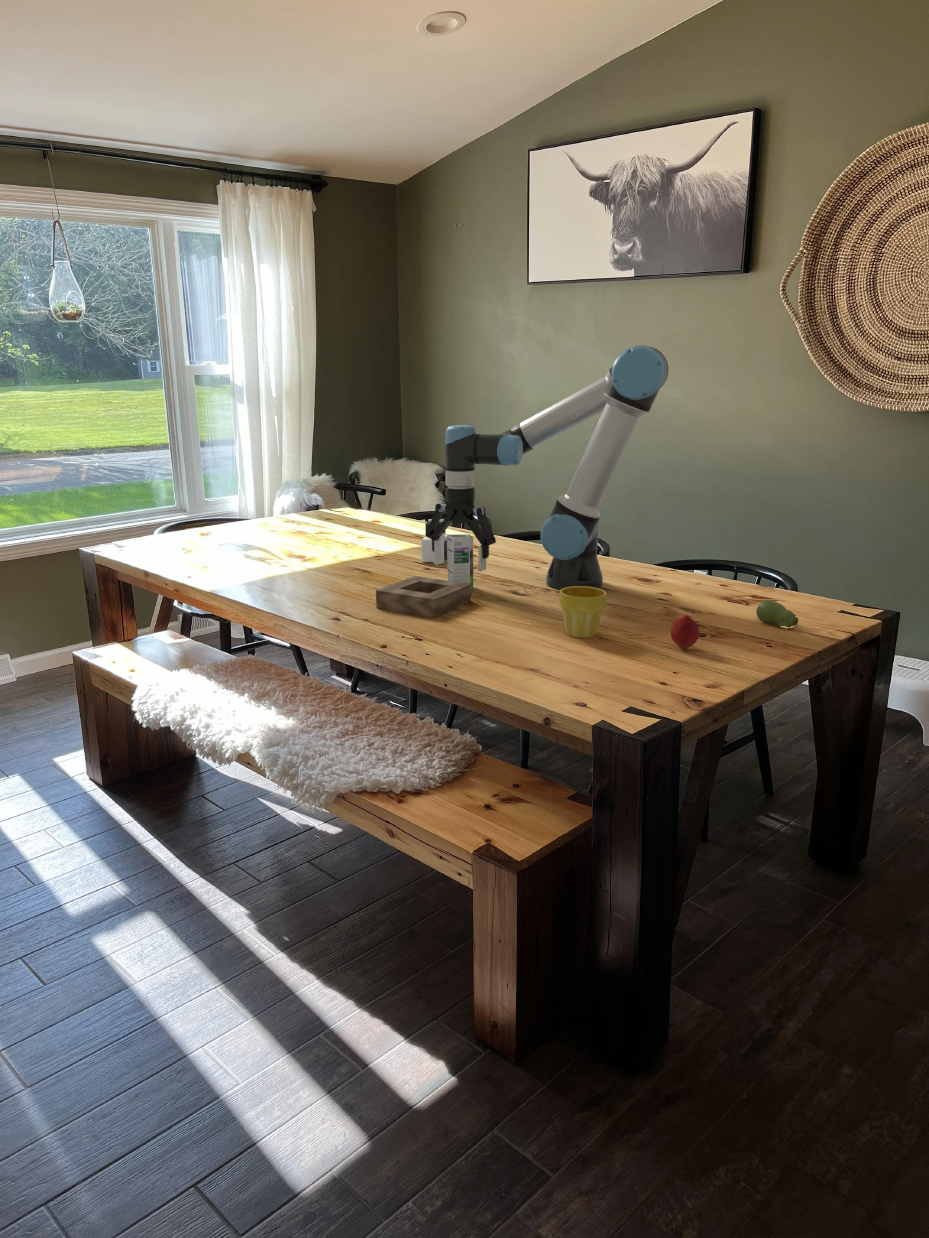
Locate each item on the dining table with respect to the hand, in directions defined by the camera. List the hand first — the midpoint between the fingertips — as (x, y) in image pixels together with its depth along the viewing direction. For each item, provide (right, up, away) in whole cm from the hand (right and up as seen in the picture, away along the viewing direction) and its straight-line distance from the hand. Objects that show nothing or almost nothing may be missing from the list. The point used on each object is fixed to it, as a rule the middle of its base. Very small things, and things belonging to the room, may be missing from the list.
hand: (459, 567), depth 236 cm
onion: (+48, -20, -47) cm, 70 cm away
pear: (+73, -15, -30) cm, 81 cm away
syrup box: (0, -6, +2) cm, 6 cm away
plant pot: (+27, -17, -37) cm, 49 cm away
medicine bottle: (-7, +4, +34) cm, 35 cm away
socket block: (-9, -10, -13) cm, 19 cm away
